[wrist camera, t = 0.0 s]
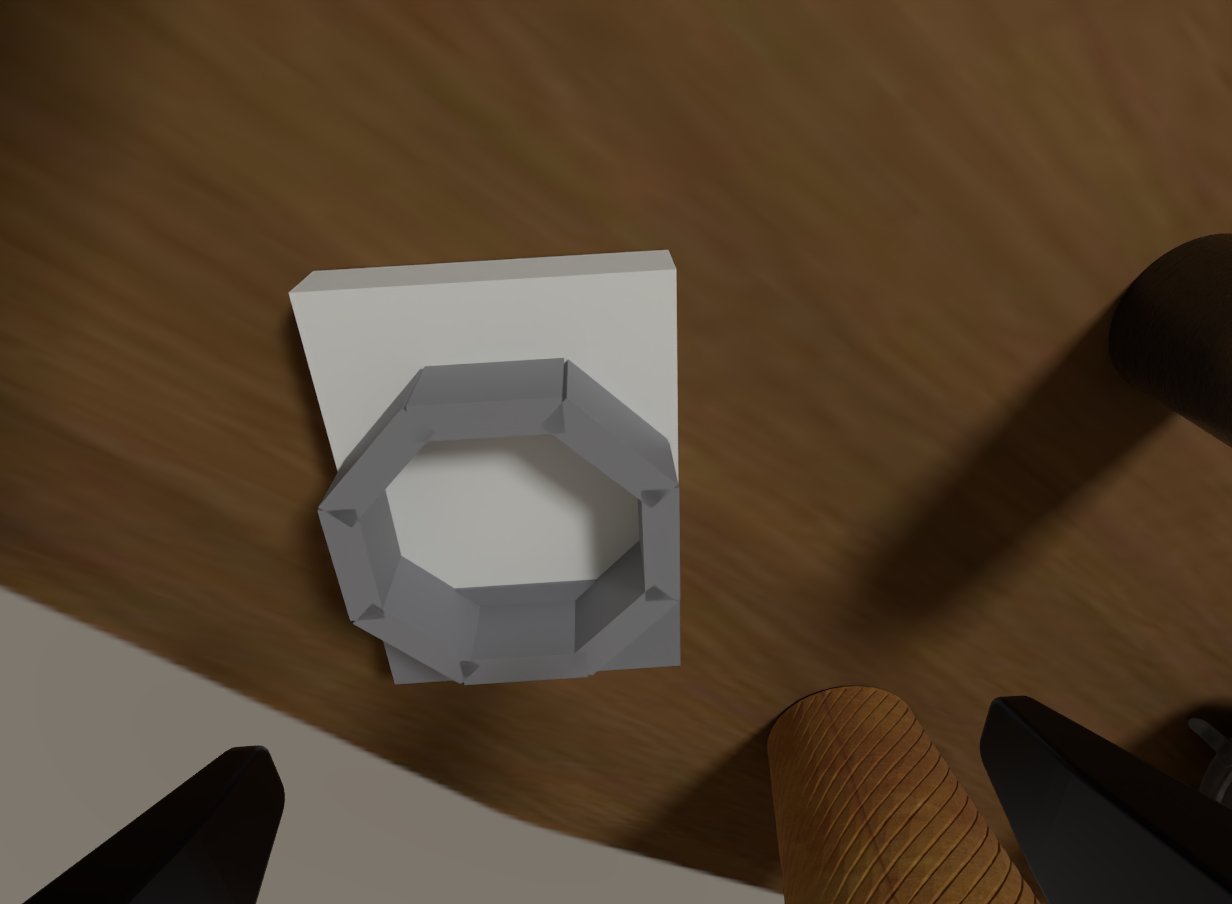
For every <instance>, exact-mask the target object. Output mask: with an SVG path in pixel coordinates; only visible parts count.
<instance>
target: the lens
mask: <svg viewBox="0 0 1232 904" xmlns="http://www.w3.org/2000/svg"><path fill="white" fill-rule="evenodd" d="M1109 351H1110V355H1111V359H1112V362H1113V364H1114V366H1115V368H1116V370H1117V371H1118V373H1119V374H1120V375H1121V376H1122V377H1123V378H1124V379H1125V380H1126V381H1128V382H1129V383H1131V384H1132V385H1134V386H1135V387H1137V388H1138V389H1140V390H1142V391H1143V392H1145V393H1146V394H1148V395H1150V396H1151V397H1153V398H1154V399H1156V400H1157V401H1159V402H1161V403H1162V404H1164V405H1165V406H1167V407H1168V408H1170V409H1172V410H1173V411H1175V412H1176V413H1178V414H1179V415H1181V416H1183V417H1184V418H1186V419H1187V420H1189V421H1190V422H1192V423H1194V424H1195V425H1197V426H1198V427H1200V428H1201V429H1203V430H1205V431H1206V432H1208V433H1209V434H1211V435H1212V436H1214V437H1216V438H1217V439H1219V440H1220V441H1222V442H1223V443H1225V444H1227V445H1228V446H1230V447H1231V448H1232V234H1215V235H1209V236H1205V237H1201V238H1198V239H1195V240H1192V241H1189V242H1187V243H1185V244H1183V245H1181V246H1179V247H1177V248H1175V249H1173V250H1171V251H1170V252H1168V253H1166V254H1165V255H1163V256H1162V257H1161V258H1159V259H1158V260H1157V261H1155V262H1154V263H1153V264H1152V265H1151V266H1149V267H1148V268H1147V269H1146V270H1145V271H1144V272H1143V273H1142V274H1141V275H1140V276H1139V277H1138V278H1137V279H1136V280H1135V282H1134V283H1133V284H1132V286H1131V287H1130V288H1129V289H1128V291H1127V292H1126V294H1125V295H1124V297H1123V299H1122V300H1121V302H1120V304H1119V306H1118V308H1117V310H1116V312H1115V315H1114V318H1113V321H1112V324H1111V329H1110V335H1109Z"/></svg>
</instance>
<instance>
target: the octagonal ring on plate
mask: <svg viewBox="0 0 1232 904" xmlns="http://www.w3.org/2000/svg"><path fill="white" fill-rule="evenodd" d="M289 296H290V300H291V303H292V307H293V311H294V314H295V318H296V322H297V325H298V329H299V332H300V336H301V340H302V343H303V347H304V351H305V354H306V358H307V362H308V365H309V369H310V373H311V376H312V380H313V383H314V387H315V391H316V394H317V398H318V402H319V405H320V409H321V413H322V416H323V420H324V423H325V427H326V431H327V434H328V438H329V442H330V445H331V449H332V453H333V456H334V460H335V463H336V467H337V471H338V473H337V474H336V476H335V478H334V480H333V482H332V483H331V485H330V487H329V489H328V491H327V492H326V494H325V496H324V498H323V500H322V501H321V503H320V505H319V507H318V508H319V509H318V511H317V512H318V515H319V518H320V522H321V525H322V528H323V532H324V535H325V538H326V542H327V545H328V548H329V552H330V555H331V558H332V562H333V565H334V568H335V572H336V575H337V578H338V582H339V585H340V588H341V592H342V595H343V598H344V602H345V605H346V608H347V612H348V615H349V618H350V621H354V622H353V624H354V625H356V626H358V627H359V628H361V629H363V630H365V631H367V632H368V633H370V634H372V635H374V636H376V637H377V638H379V639H381V640H383V643H384V646H385V650H386V654H387V657H388V661H389V664H390V668H391V672H392V675H393V679H394V683H395V684H408V683H423V682H438V681H453V680H454V681H456V682H457V683H459V684H461V683H462V682H464V685H474V684H489V683H504V682H519V681H534V680H549V679H564V678H579V677H588V673H589V674H590V675H593V674H594V673H596V672H597V671H604V670H619V669H634V668H649V667H664V666H679V665H680V525H679V485H678V400H677V296H676V267H675V265H674V262H673V260H672V258H671V255H670V253H669V250H656V251H639V252H623V253H606V254H590V255H573V256H556V257H540V258H523V259H507V260H490V261H473V262H457V263H440V264H424V265H407V266H391V267H374V268H357V269H341V270H324V271H313V272H312V273H311V274H309V275H308V276H307V277H306V278H305V279H304V280H303V281H301V282H300V283H299V284H298V285H297V286H296V287H295V288H293V289H292V290H291V291H290V292H289Z"/></svg>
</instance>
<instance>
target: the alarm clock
mask: <svg viewBox="0 0 1232 904" xmlns="http://www.w3.org/2000/svg"><path fill="white" fill-rule="evenodd" d="M1188 725H1189V727H1190V728H1191V729H1192V730H1193V731H1194V732H1195V733H1197V734H1198V735H1199V736H1200V737H1201V738H1202V739H1203V740H1204V741H1206V742H1207V743H1208V744H1209V745H1210V746H1211V747H1212V748H1213V749H1214V750H1215V752H1216V755H1215V757H1214V758H1213V760H1212V761H1211V763H1210V764H1209V766H1208V768H1207V770H1206V772H1205V775H1204V777H1203V779H1202V782H1201V785H1200V788H1199V790H1198V789H1196V790H1198V791H1200V792H1201V793H1203V794H1205V795H1207V796H1209V797H1210V798H1212V799H1214V800H1216V801H1217V802H1219V803H1221V804H1223V805H1225V806H1226V807H1228V808H1230V809H1232V737H1231V738H1230V739H1227V738H1226V737H1225V736H1223V735H1222V734H1221V733H1219V732H1218V731H1217V730H1216V729H1215V728H1214V727H1213V726H1211V725H1210V724H1209V723H1207V722H1206V721H1204V720H1202V719H1198V718H1191V719H1189V721H1188Z"/></svg>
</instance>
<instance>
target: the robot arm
mask: <svg viewBox="0 0 1232 904" xmlns="http://www.w3.org/2000/svg"><path fill="white" fill-rule="evenodd" d="M980 753H981V758H982V761H983V764H984V767H985V769H986V771H987V773H988V776H989V778H990V780H991V782H992V785H993V787H994V789H995V791H996V794H997V796H998V798H999V800H1000V803H1001V805H1002V807H1003V809H1004V812H1005V814H1006V816H1007V818H1008V821H1009V823H1010V825H1011V827H1012V830H1013V832H1014V834H1015V836H1016V839H1017V841H1018V843H1019V845H1020V848H1021V850H1022V852H1023V854H1024V857H1025V859H1026V861H1027V863H1028V865H1029V867H1030V869H1031V871H1032V873H1033V875H1034V877H1035V879H1036V881H1037V883H1038V884H1039V886H1040V888H1041V890H1042V892H1043V894H1044V895H1045V897H1046V899H1047V901H1048V902H1049V904H1232V809H1230V808H1228V807H1226V806H1225V805H1223V804H1221V803H1219V802H1217V801H1216V800H1214V799H1212V798H1210V797H1209V796H1207V795H1205V794H1203V793H1201V792H1200V791H1198V790H1196V789H1194V788H1192V787H1191V786H1189V785H1187V784H1185V783H1183V782H1182V781H1180V780H1178V779H1176V778H1174V777H1173V776H1171V775H1169V774H1167V773H1165V772H1164V771H1162V770H1160V769H1158V768H1156V767H1155V766H1153V765H1151V764H1149V763H1148V762H1146V761H1144V760H1142V759H1140V758H1139V757H1137V756H1135V755H1133V754H1131V753H1130V752H1128V751H1126V750H1124V749H1122V748H1121V747H1119V746H1117V745H1115V744H1113V743H1112V742H1110V741H1108V740H1106V739H1104V738H1103V737H1101V736H1099V735H1097V734H1095V733H1094V732H1092V731H1090V730H1088V729H1087V728H1085V727H1083V726H1081V725H1079V724H1078V723H1076V722H1074V721H1072V720H1070V719H1069V718H1067V717H1065V716H1063V715H1061V714H1060V713H1058V712H1056V711H1054V710H1052V709H1051V708H1049V707H1047V706H1045V705H1043V704H1042V703H1040V702H1038V701H1036V700H1034V699H1032V698H1030V697H1028V696H1008V697H998V698H995V699H994V700H993V701H992V702H991V705H990V708H989V711H988V715H987V718H986V722H985V725H984V729H983V732H982V736H981V739H980ZM284 802H285V793H284V787H283V784H282V782H281V779H280V777H279V774H278V772H277V770H276V767H275V765H274V762H273V760H272V758H271V755H270V753H269V751H268V750H267V749H266V748H265V747H264V746H245V747H234V748H231V749H229V750H228V751H226V752H224V753H223V754H222V755H220V756H219V757H218V758H216V759H215V760H214V761H212V762H211V763H210V764H208V765H207V766H206V767H204V768H203V769H202V770H200V771H199V772H198V773H196V774H195V775H193V776H192V777H191V778H189V779H188V780H187V781H185V782H184V783H183V784H182V785H180V786H179V787H177V788H176V789H175V790H173V791H172V792H171V793H169V794H168V795H167V796H166V797H164V798H163V799H161V800H160V801H159V802H157V803H156V804H155V805H153V806H152V807H151V808H150V809H148V810H147V811H145V812H144V813H143V814H142V815H140V816H139V817H137V818H136V819H135V820H133V821H132V822H131V823H129V824H128V825H127V826H125V827H124V828H123V829H121V830H120V831H119V832H117V833H116V834H115V835H113V836H112V837H111V838H109V839H108V840H107V841H106V842H104V843H103V844H101V845H100V846H99V847H97V848H96V849H95V850H94V851H92V852H91V853H89V854H88V855H87V856H85V857H84V858H83V859H81V860H80V861H79V862H77V863H76V864H75V865H73V866H72V867H71V868H69V869H68V870H67V871H65V872H64V873H63V874H61V875H60V876H59V877H57V878H56V879H55V880H53V881H52V882H50V883H49V884H48V885H46V886H45V887H44V888H42V889H41V890H40V891H38V892H37V893H36V894H34V895H33V896H32V897H30V898H29V899H28V900H26V901H25V902H24V903H22V904H256V902H257V898H258V895H259V891H260V888H261V885H262V881H263V878H264V874H265V871H266V868H267V864H268V860H269V857H270V853H271V850H272V847H273V844H274V840H275V837H276V833H277V830H278V827H279V823H280V820H281V816H282V813H283V809H284Z"/></svg>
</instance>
